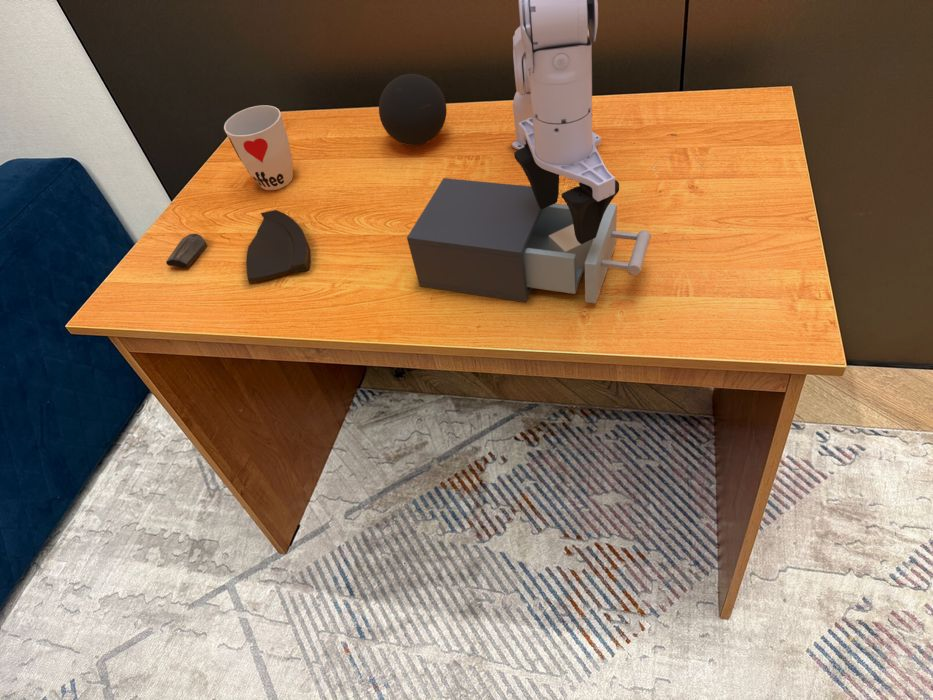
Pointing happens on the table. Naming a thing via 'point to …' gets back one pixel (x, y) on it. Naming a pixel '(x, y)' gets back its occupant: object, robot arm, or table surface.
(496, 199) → the cabinet
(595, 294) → the drawer
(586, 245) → the beige cube
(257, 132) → the cup
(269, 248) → the dark sector wedge
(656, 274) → the table surface
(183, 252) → the block
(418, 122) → the black ball
